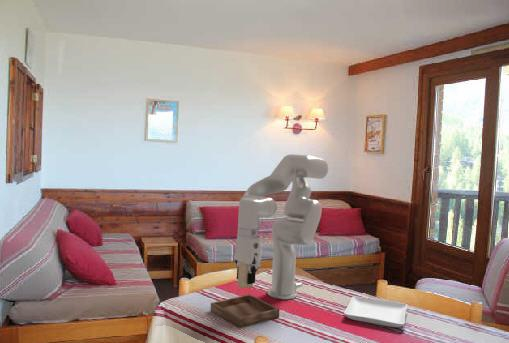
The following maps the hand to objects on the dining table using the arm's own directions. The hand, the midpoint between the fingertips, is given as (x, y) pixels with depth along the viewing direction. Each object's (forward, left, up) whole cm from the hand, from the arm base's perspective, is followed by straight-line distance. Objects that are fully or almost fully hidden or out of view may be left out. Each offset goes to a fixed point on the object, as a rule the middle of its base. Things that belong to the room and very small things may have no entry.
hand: (245, 280), depth 165 cm
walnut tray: (0, 0, -13) cm, 13 cm away
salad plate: (-41, +28, -13) cm, 51 cm away
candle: (0, 0, -2) cm, 2 cm away
